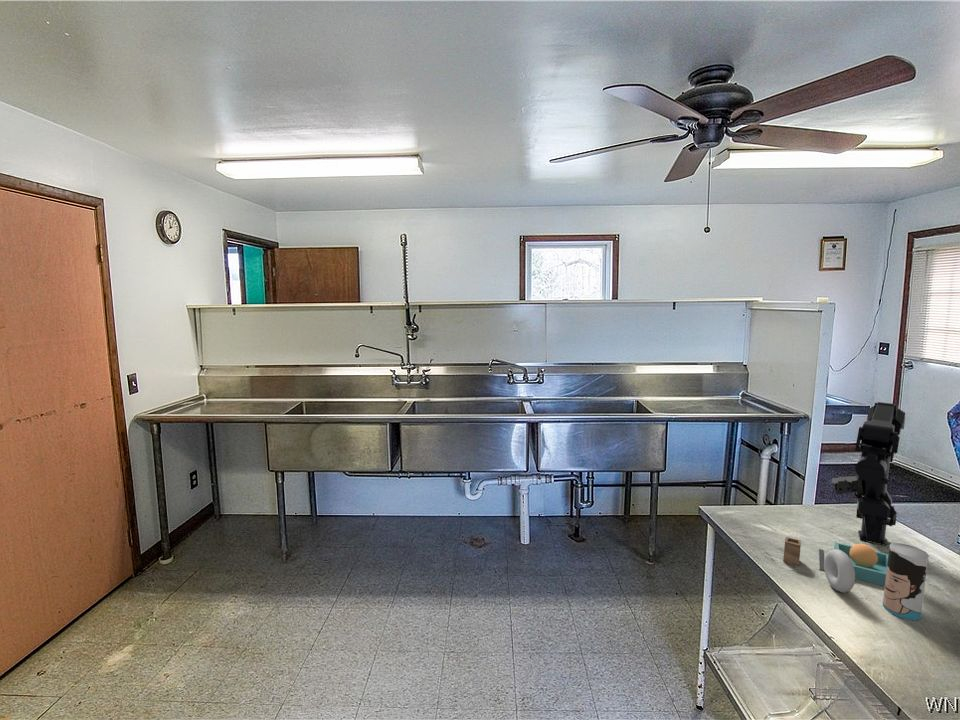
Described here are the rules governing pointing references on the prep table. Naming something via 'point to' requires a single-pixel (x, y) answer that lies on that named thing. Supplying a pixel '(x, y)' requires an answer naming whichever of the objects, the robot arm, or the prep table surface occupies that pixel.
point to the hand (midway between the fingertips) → (867, 527)
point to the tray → (872, 573)
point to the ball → (863, 555)
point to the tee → (792, 551)
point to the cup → (905, 581)
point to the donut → (839, 570)
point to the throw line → (821, 559)
